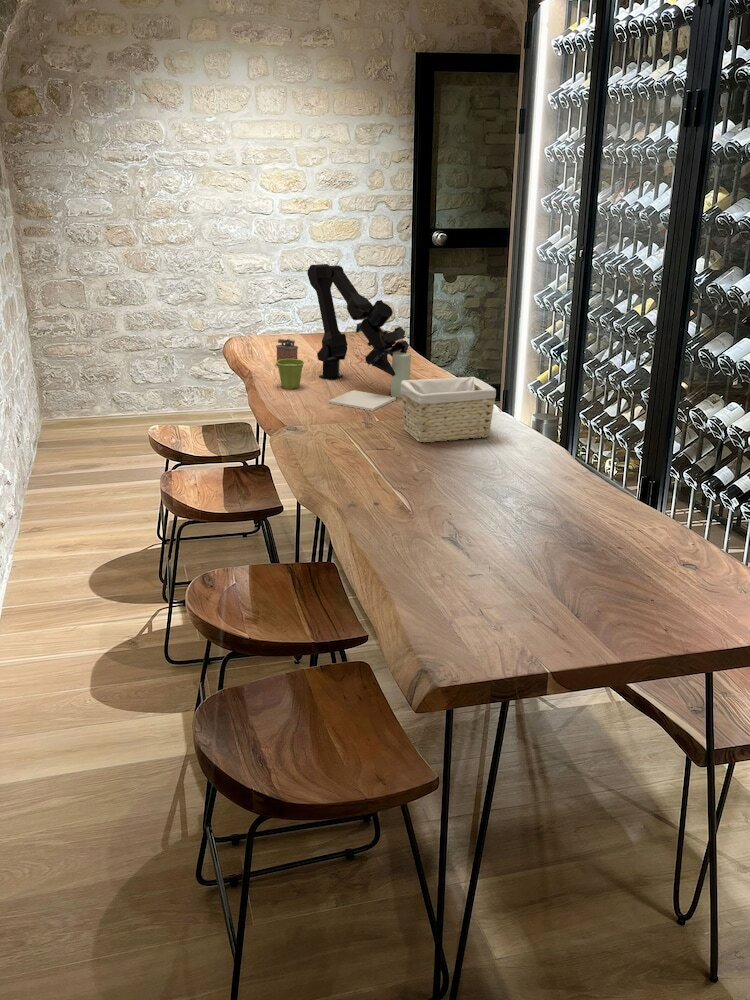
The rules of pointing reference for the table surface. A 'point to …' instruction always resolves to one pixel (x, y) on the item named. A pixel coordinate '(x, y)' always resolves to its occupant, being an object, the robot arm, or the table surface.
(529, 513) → the table surface
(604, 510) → the table surface
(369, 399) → the tile
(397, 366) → the block
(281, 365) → the plant pot
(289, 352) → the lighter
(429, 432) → the storage basket
